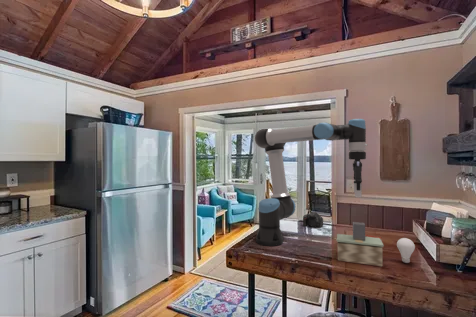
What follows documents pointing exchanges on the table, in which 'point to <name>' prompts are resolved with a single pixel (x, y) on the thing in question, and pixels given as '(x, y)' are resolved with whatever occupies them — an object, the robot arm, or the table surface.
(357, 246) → the box
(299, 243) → the table surface
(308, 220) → the camera
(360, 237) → the block
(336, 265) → the table surface
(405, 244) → the light bulb
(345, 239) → the lid
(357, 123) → the robot arm
